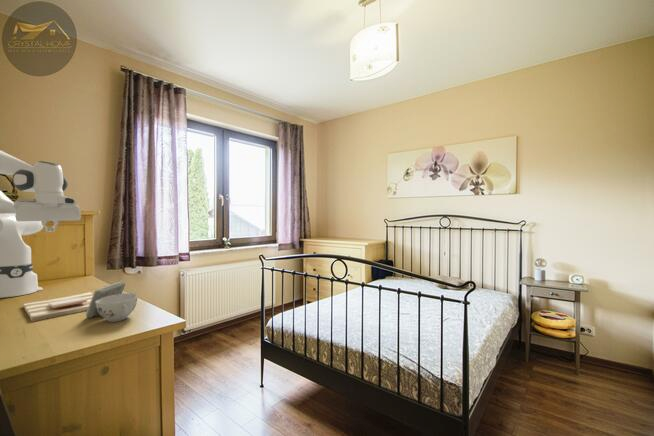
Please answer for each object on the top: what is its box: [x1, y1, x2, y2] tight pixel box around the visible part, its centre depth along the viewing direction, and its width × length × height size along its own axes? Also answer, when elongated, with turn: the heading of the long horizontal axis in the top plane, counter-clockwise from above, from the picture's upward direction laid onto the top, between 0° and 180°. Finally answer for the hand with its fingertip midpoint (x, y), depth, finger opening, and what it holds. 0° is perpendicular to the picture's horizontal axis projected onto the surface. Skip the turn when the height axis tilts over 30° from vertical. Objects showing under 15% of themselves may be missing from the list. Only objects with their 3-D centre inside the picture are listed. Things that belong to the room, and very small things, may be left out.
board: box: [22, 291, 94, 323], centre depth 120 cm, size 26×22×2 cm
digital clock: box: [85, 280, 126, 319], centre depth 114 cm, size 16×9×11 cm, turn 173°
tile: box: [49, 297, 87, 308], centre depth 117 cm, size 11×10×1 cm
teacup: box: [95, 292, 139, 323], centre depth 105 cm, size 15×12×8 cm
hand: (50, 231), depth 123 cm, fingers closed
